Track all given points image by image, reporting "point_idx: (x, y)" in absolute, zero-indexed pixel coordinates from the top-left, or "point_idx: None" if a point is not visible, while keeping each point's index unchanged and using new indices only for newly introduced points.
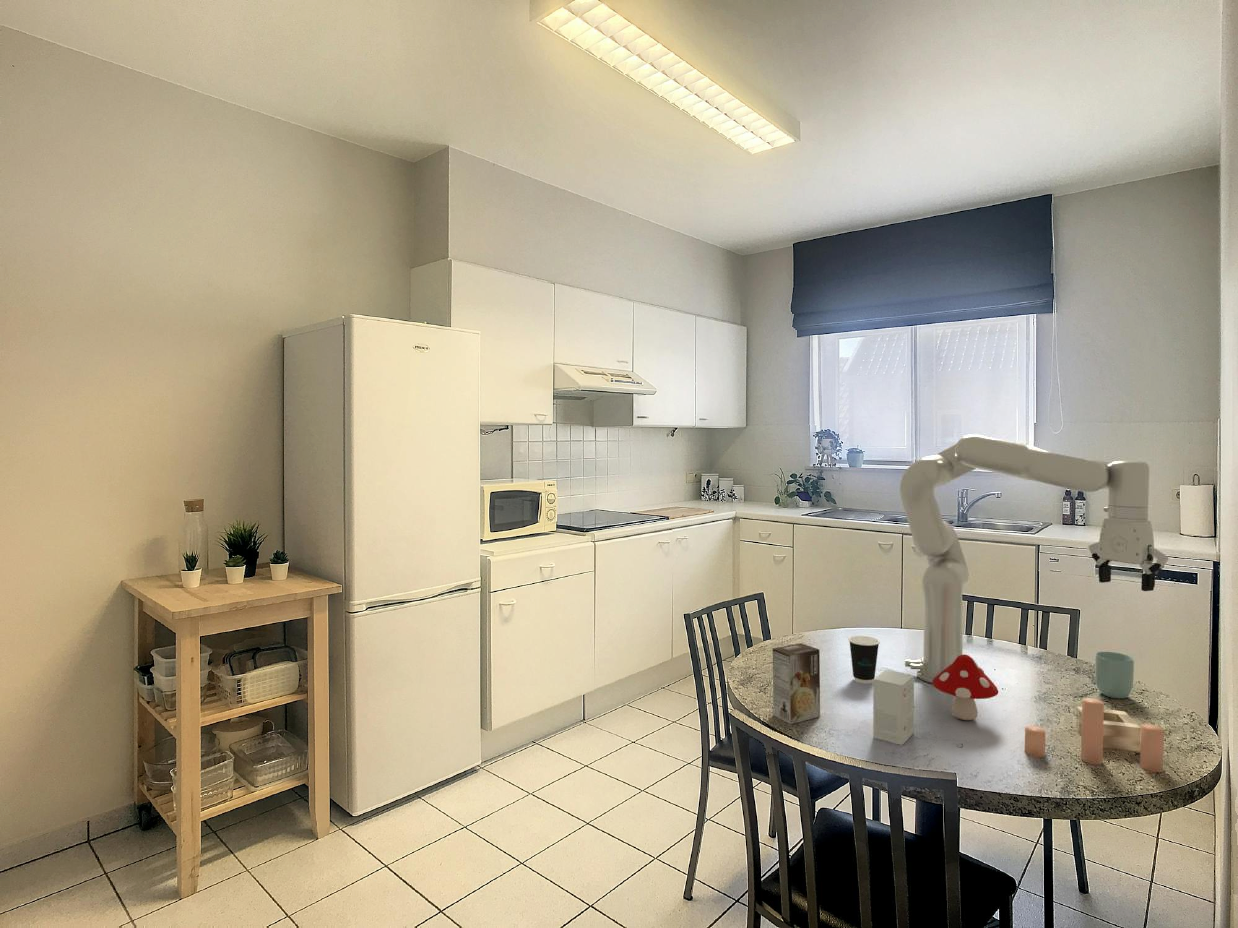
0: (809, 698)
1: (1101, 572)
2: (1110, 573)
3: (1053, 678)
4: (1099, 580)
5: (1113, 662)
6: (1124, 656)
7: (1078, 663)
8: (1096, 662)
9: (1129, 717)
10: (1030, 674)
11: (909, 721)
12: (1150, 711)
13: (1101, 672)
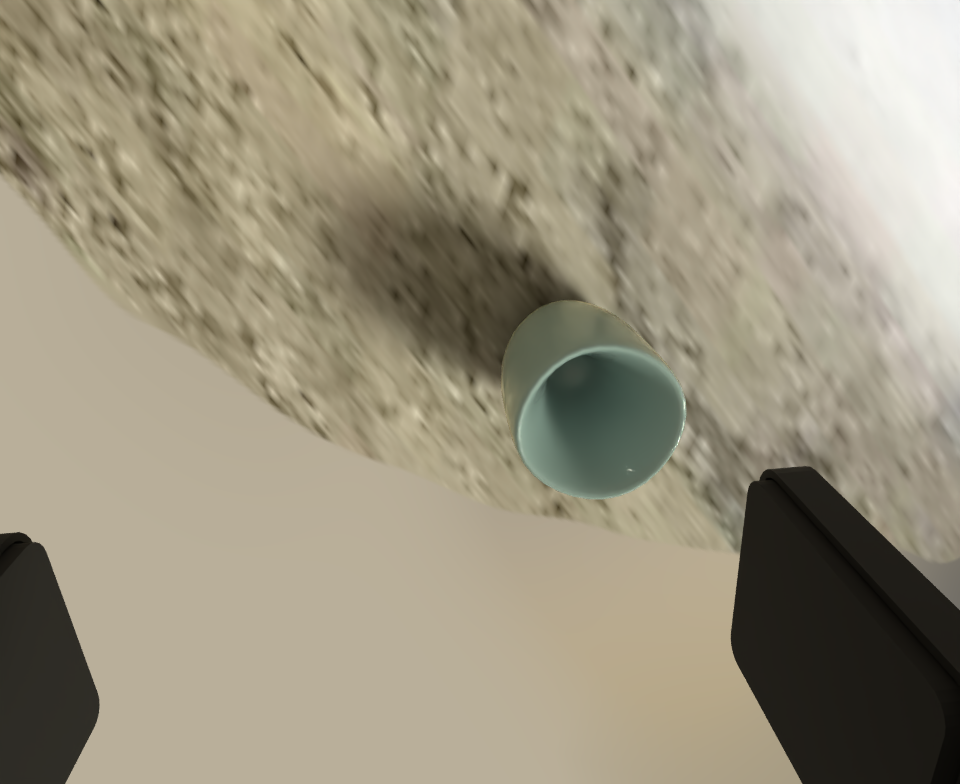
0: None
1: (874, 587)
2: (796, 758)
3: (804, 290)
4: (808, 473)
5: (553, 355)
6: (593, 486)
7: None
8: (641, 340)
9: None
10: (889, 234)
11: None
12: (383, 329)
13: (592, 315)
